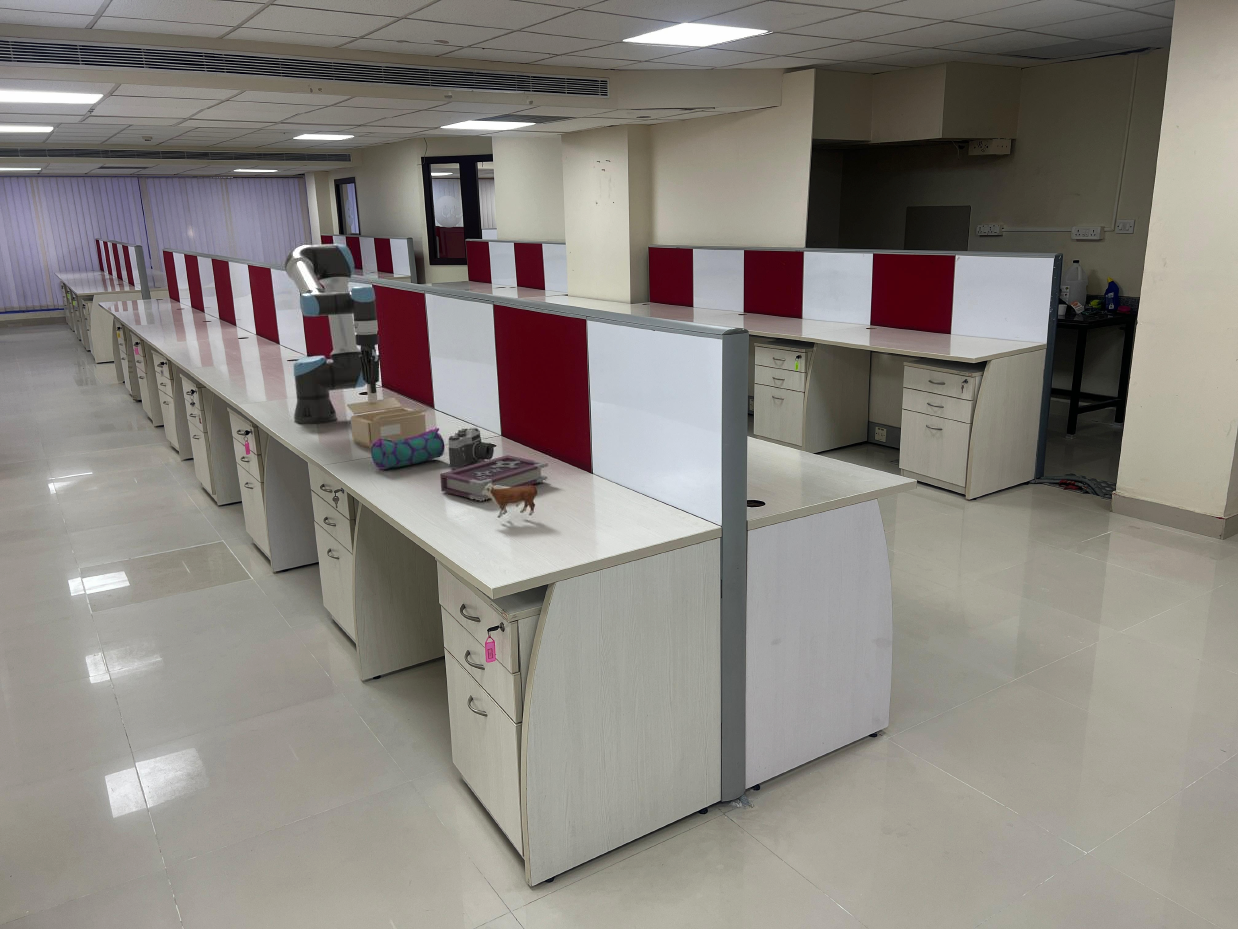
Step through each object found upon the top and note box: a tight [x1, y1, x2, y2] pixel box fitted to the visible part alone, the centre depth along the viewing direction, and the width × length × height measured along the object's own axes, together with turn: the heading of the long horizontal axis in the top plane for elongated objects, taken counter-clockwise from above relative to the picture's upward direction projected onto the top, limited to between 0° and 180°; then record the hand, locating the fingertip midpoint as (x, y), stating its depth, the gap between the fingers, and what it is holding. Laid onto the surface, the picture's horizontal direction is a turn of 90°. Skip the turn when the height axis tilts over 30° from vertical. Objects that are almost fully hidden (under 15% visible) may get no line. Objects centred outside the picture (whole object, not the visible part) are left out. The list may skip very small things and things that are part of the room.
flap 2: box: [373, 407, 430, 421], centre depth 288 cm, size 1×17×6 cm
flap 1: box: [346, 397, 403, 416], centre depth 303 cm, size 1×17×6 cm
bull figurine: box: [482, 483, 538, 519], centre depth 217 cm, size 4×13×8 cm, turn 95°
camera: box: [448, 426, 495, 469], centre depth 268 cm, size 16×10×10 cm, turn 161°
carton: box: [350, 407, 427, 450], centre depth 297 cm, size 15×21×9 cm
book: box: [439, 454, 549, 502], centre depth 245 cm, size 25×16×5 cm, turn 141°
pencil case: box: [370, 427, 445, 471], centre depth 268 cm, size 21×9×10 cm, turn 133°
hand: (372, 402), depth 304 cm, fingers closed
